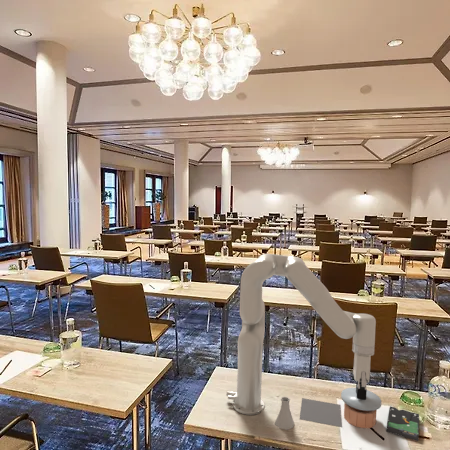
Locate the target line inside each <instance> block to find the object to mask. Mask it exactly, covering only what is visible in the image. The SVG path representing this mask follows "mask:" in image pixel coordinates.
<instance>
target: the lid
mask: <svg viewBox="0 0 450 450" xmlns="http://www.w3.org/2000/svg"><path fill="white" fill-rule="evenodd" d="M360 384H361V383H360ZM357 387H358V384H357ZM340 395H341V397H340V398H341V400H342V402H343V403H344V402H345V403H346V404H347V405H349V406H351V407H353V408H356V409H359V410H365V411H374V410H380V408H381V407H382V399H381V397H380V396H379V395H378V394H376V393H375V392H372V391H371V390H368V389H367V392H366V400H362V399H357V393H356V387H346V388H345V389H342V391H341V393H340Z"/></svg>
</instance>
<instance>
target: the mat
mask: <svg viewBox="0 0 450 450" xmlns="http://www.w3.org/2000/svg"><path fill="white" fill-rule="evenodd" d="M300 405H301V406H300V412H299V413H300V414H299V420H303V421H307V422H308V421H309V422H312V423H317V424H324V425H328V426H335V427H340V428H343V422H342V419H343V418H342V409H341V408H342V406H341V404H340V403H339V404H338V403H334V402H327V401H320V400H316V399H310V398H309V399H308V398H303V397H302V398H301V404H300Z"/></svg>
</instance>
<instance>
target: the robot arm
mask: <svg viewBox="0 0 450 450" xmlns="http://www.w3.org/2000/svg"><path fill="white" fill-rule="evenodd" d="M273 276H280V277H286V279H287V281H289V282H290V283H291V284H292V286H294V287H295V289H296V290H297V291H298V293H300V294H301V295H302V296H303V298H304V299H305V301H307V302H308V303H309V305H310V306H311V307H312V308H313V309H314V311H315V312H316V313H317V314H318V315H319V316H320V318H321V319H322V321H324V323H325V324H326V325H327V326H328V327H329V328H330V329H331V330H332V331H333V332H334V334H335V335H337V336H338V337H339V338H340V339H345V340H348V339H349V340H350V339H351V338H352V349H351V351H352V352H353V354H354V356H353V357H354V358H353V370H352V371H353V378H354V381H355V382H356V383H355V385H356V386H355V388H356V393H357V399H362V400H366V392H367V390H368V389H367V384H369V383H370V377H371V356H372V357H373V356H374V355H375V347H376V346H375V345H376V344H375V343H376V326H377V325H376V324H377V322H376V321H377V320H376V318H375V317H374V315H372V314H370V313H369V314H368V313H364V312H363V313H355V312H350V311H345V310H343V309H342V308H341V307H340V305H339V304H338V303H337V301H336V300H335V299H334V298H333V296H332V294H331V292H330V291H329V290H328V288H327V287H326V286H325V285H324V283H322V281H321V280H320V279H318V277H317V276H316V275H315V274H314V273H313V272H312V270H311V269H310V268H309V267H307V265H306V263H305V261H304V260H303V259H302V258H300V257H298V256H293V255H283V254H282V255H281V254H274V253H263V254H261V255H260V256H258V257H257V259H256V260H255V261H252V262H251V263H250V264H247V266H246V267H245V268H244V270H243V272H242V273H241V277H240V291H239V293H240V294H239V296H240V297H239V317H240V319H241V330H240V332H239V335H238V338H237V376H236V377H237V379H236V381H237V383H236V390H235V391H233V390H232V391H231V390H227V391H226V395H225V396H226V397H227V399H228V400H232V407H233V409H234V410H235V411H236V412H238V413H240V414H243V415H247V416H253V415H259V414H260V413H261V412H262V411H263V410H264V409H265V406H266V404H265V402H264V400H263V399H262V380H263V378H262V377H263V347H264V338H265V333H266V332H265V331H266V328H265V327H266V325H265V324H266V323H265V322H266V313H265V312H266V306H265V305H266V304H265V302H264V300H263V283H264V282H265V281H266V280H268V279H270V278H272V277H273ZM360 383H361V384H360ZM357 384H358V387H357Z"/></svg>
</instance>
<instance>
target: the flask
mask: <svg viewBox="0 0 450 450" xmlns="http://www.w3.org/2000/svg"><path fill="white" fill-rule="evenodd" d="M280 401H281V404H280V408H279V409H280V410H279V412H278V414H277V417H276V419H275V422H274V425H275V426H276V427H277V428H279V429H281V430H286V431H288V430H291V429H293V428H294V426H295V421H294V418H293V415H292V411H291V409H290V408H291V407H290V401H291V398H289V397H288V396H282V397H281V398H280Z"/></svg>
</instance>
